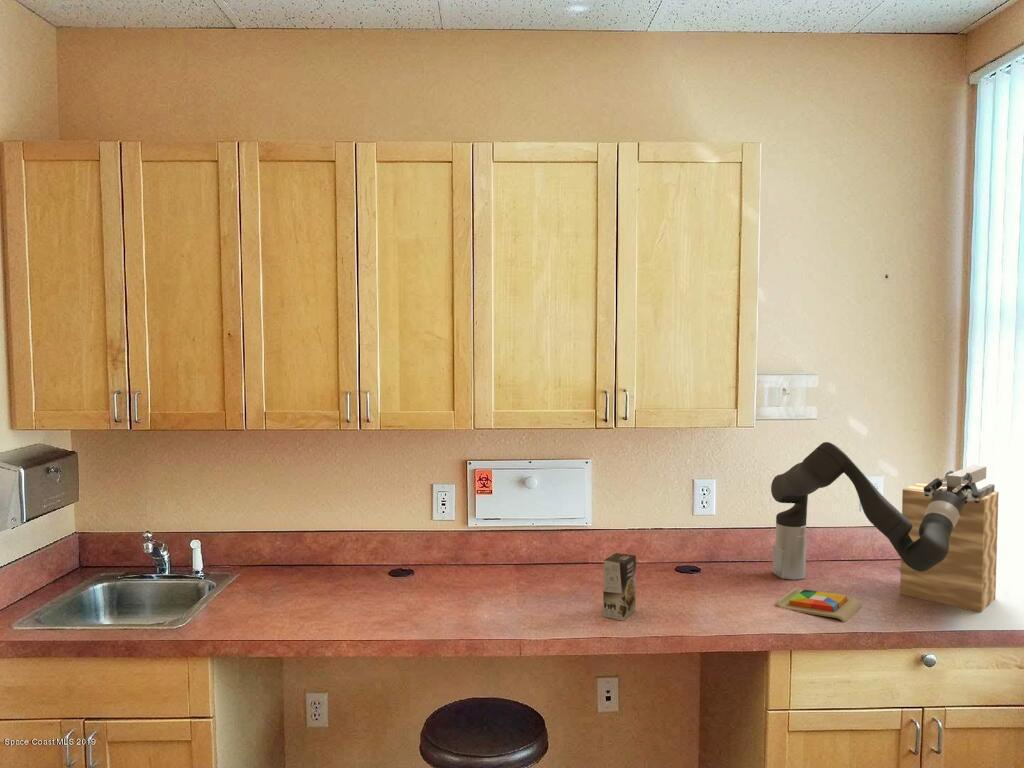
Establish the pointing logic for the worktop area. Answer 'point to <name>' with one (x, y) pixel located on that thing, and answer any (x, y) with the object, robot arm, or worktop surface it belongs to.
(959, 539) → the maple block
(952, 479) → the light gray bar
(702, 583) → the worktop surface
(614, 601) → the coffee box
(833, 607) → the wooden puzzle
